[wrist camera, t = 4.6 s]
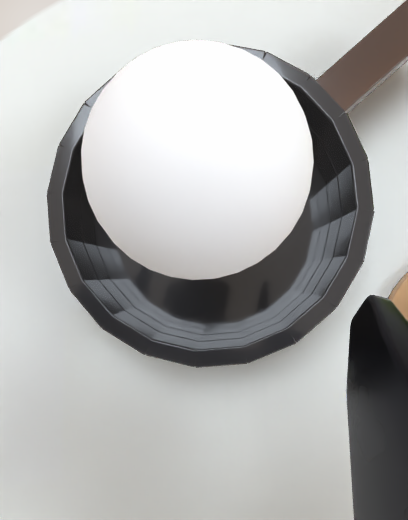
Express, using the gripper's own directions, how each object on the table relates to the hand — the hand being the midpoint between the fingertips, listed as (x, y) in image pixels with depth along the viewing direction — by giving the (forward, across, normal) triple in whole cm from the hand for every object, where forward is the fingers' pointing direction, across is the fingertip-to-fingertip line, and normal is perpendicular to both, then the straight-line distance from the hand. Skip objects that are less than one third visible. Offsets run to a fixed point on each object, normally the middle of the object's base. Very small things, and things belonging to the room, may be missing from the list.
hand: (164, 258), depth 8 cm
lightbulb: (+9, 0, +5) cm, 10 cm away
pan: (+9, 0, +5) cm, 10 cm away
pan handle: (+13, -6, -2) cm, 14 cm away
